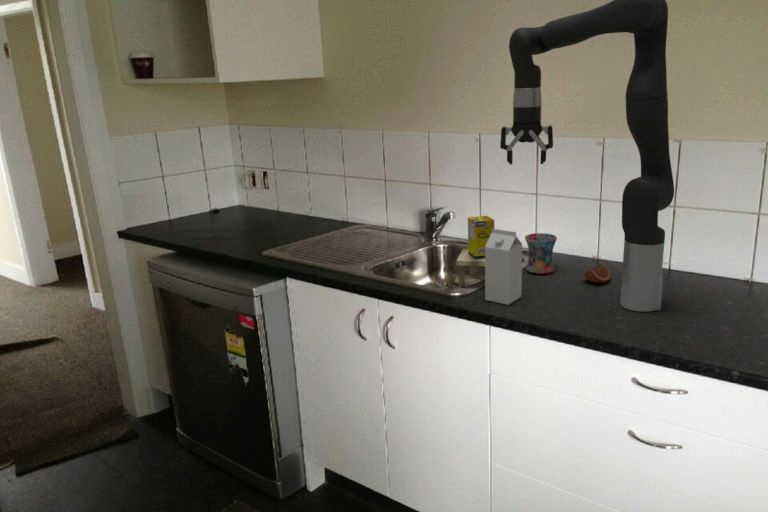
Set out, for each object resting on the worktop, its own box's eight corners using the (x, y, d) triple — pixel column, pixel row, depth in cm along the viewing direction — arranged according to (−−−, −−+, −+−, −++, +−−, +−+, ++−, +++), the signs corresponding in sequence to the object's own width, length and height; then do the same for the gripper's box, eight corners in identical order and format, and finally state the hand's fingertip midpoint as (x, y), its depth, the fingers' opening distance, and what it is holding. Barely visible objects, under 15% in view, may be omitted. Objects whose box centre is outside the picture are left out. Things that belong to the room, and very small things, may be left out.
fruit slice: (598, 288, 177) (599, 271, 175) (577, 283, 182) (577, 266, 180) (614, 281, 182) (615, 264, 181) (593, 276, 187) (593, 259, 186)
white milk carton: (498, 292, 178) (498, 225, 172) (521, 297, 173) (522, 229, 168) (485, 300, 172) (484, 231, 167) (508, 305, 168) (509, 235, 162)
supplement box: (494, 257, 182) (495, 219, 179) (474, 259, 181) (474, 221, 178) (487, 251, 188) (487, 215, 185) (467, 253, 187) (467, 217, 183)
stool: (503, 275, 191) (503, 249, 188) (499, 289, 180) (499, 262, 177) (463, 274, 194) (462, 248, 192) (456, 287, 183) (456, 260, 181)
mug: (545, 278, 187) (546, 243, 184) (518, 272, 194) (518, 238, 190) (566, 268, 195) (568, 234, 192) (540, 262, 201) (541, 229, 198)
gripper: (554, 103, 177) (552, 161, 182) (502, 104, 181) (501, 162, 186) (553, 105, 170) (552, 166, 175) (499, 106, 174) (499, 166, 179)
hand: (526, 163), depth 181 cm, fingers open, 8 cm apart
